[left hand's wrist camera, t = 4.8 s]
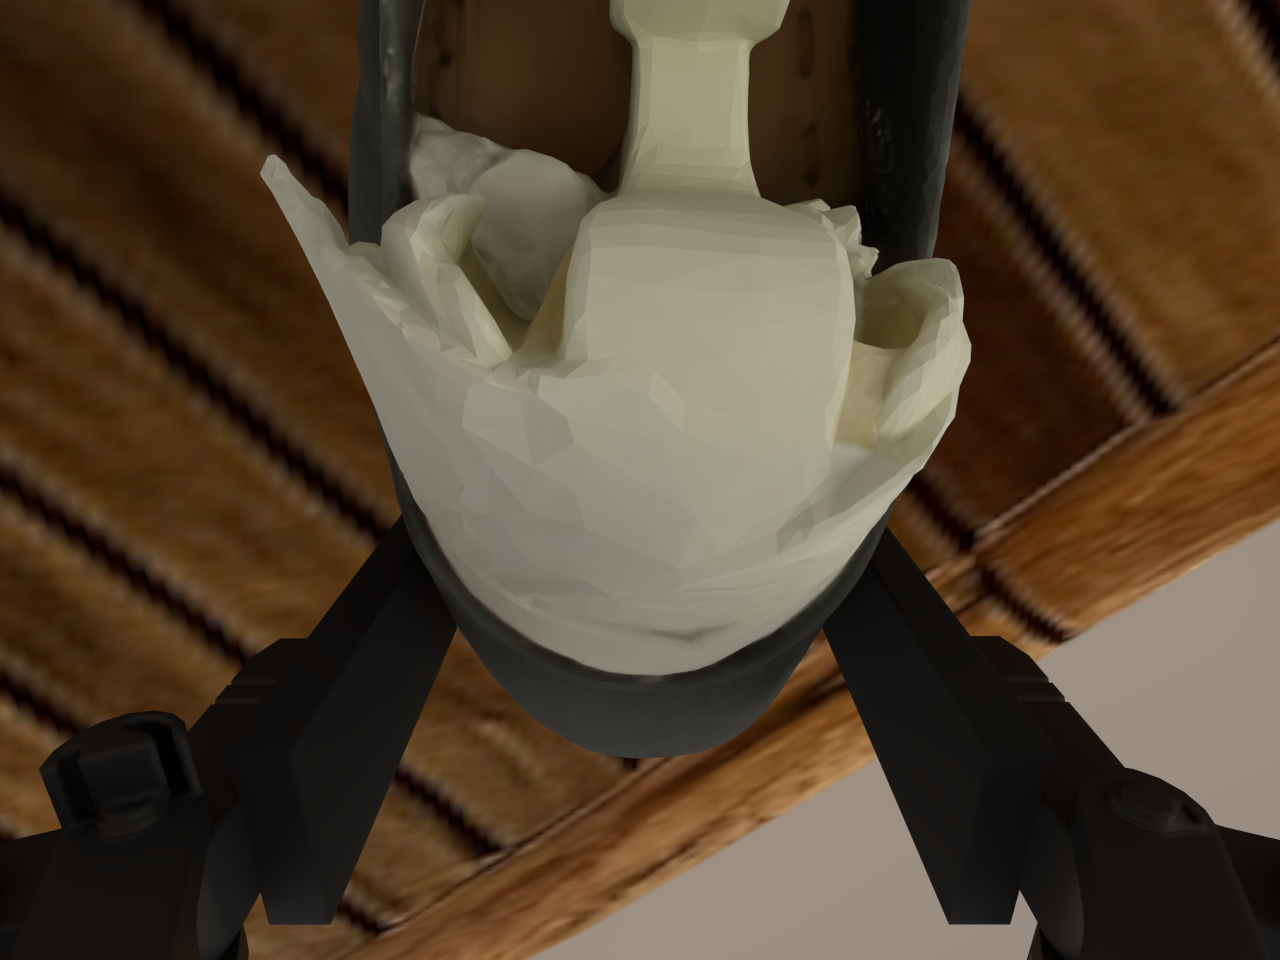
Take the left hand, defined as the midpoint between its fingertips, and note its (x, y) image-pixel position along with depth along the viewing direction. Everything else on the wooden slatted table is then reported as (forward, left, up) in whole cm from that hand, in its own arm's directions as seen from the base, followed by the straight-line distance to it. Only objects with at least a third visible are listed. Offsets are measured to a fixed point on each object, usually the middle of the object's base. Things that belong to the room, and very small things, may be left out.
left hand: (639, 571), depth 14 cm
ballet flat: (-6, +6, 0) cm, 8 cm away
